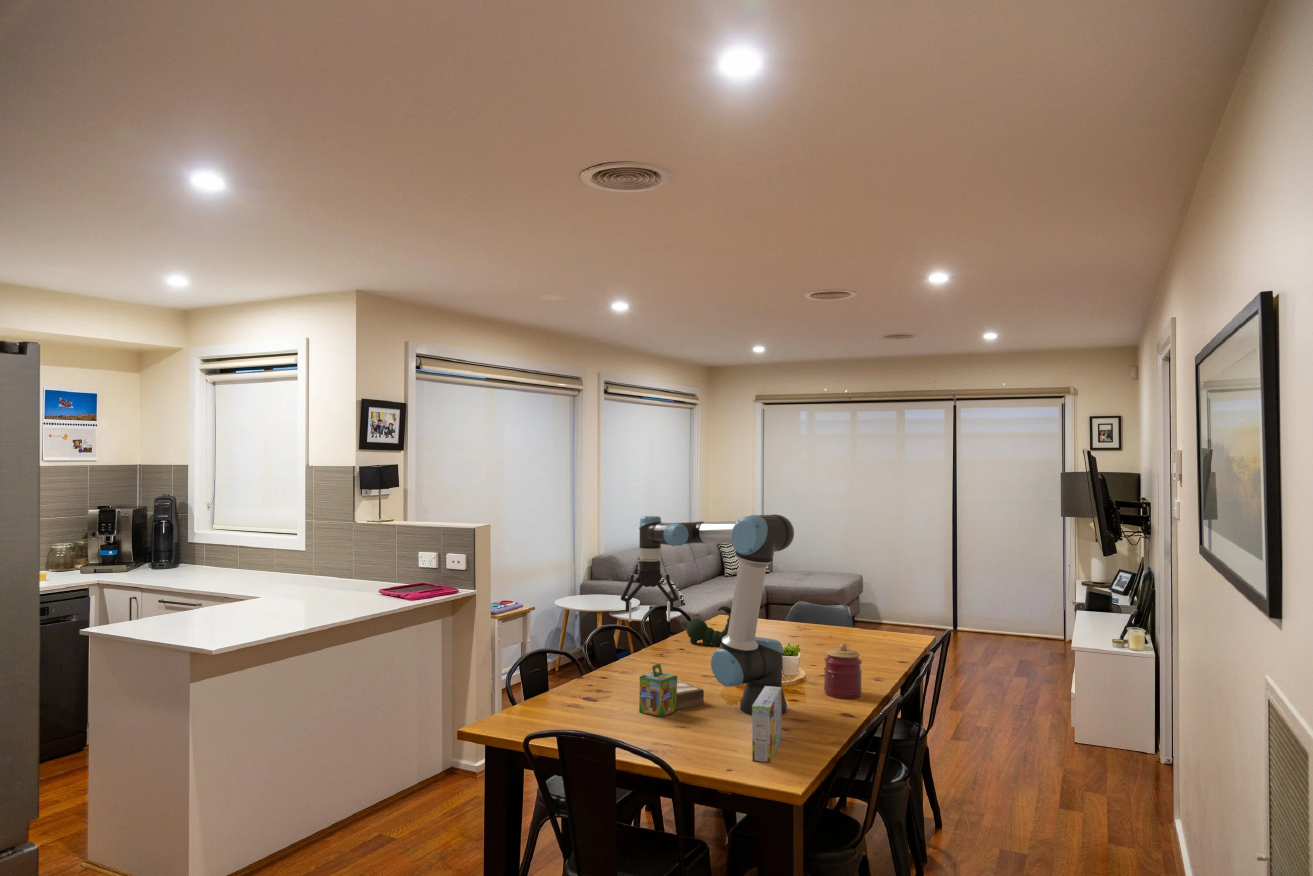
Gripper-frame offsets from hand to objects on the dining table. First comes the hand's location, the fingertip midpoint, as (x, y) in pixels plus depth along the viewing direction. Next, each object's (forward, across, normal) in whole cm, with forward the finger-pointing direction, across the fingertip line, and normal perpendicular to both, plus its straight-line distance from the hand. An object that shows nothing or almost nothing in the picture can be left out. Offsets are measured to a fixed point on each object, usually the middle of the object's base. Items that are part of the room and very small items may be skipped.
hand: (649, 621), depth 288 cm
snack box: (+25, -28, +60) cm, 71 cm away
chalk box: (+25, -1, +24) cm, 35 cm away
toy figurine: (+24, -32, -74) cm, 84 cm away
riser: (+25, -9, +14) cm, 30 cm away
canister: (+25, -68, +5) cm, 72 cm away
